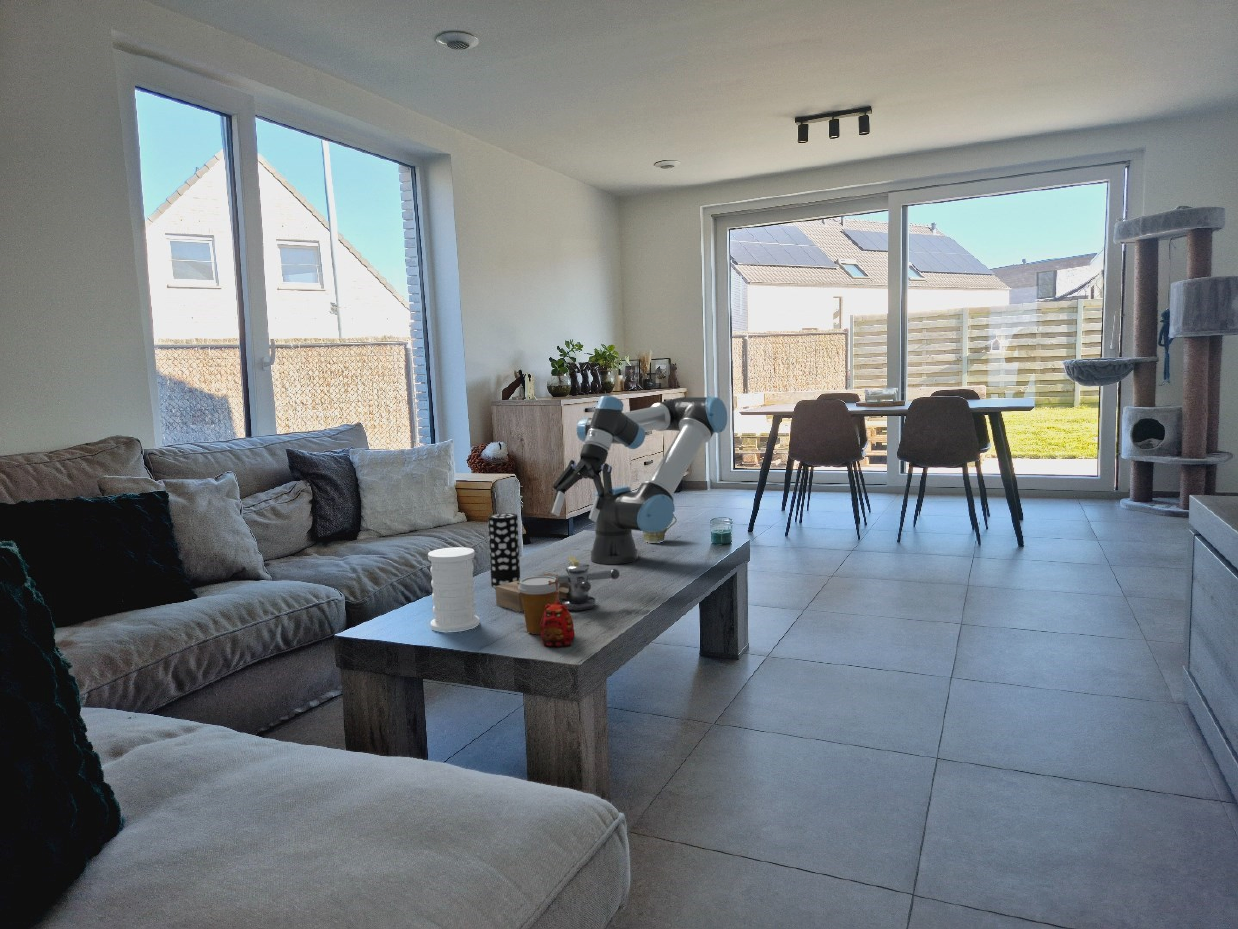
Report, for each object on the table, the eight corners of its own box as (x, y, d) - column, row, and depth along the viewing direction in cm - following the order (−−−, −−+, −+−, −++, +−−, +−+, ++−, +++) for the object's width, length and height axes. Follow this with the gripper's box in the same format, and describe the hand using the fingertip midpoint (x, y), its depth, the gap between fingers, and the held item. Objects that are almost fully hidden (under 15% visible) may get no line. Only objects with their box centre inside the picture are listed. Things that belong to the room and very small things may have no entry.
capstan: (631, 614, 197) (629, 569, 196) (543, 623, 192) (541, 577, 191) (610, 592, 218) (609, 551, 217) (530, 600, 213) (529, 558, 211)
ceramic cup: (638, 545, 280) (637, 516, 279) (642, 539, 289) (641, 511, 288) (675, 545, 277) (675, 516, 276) (678, 539, 287) (677, 511, 286)
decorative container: (469, 634, 187) (465, 557, 185) (422, 632, 189) (418, 557, 187) (486, 619, 198) (482, 547, 196) (441, 618, 200) (437, 546, 198)
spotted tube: (526, 584, 231) (523, 515, 229) (503, 590, 225) (500, 519, 223) (508, 579, 236) (504, 512, 234) (485, 585, 230) (481, 516, 228)
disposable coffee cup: (544, 639, 181) (542, 587, 180) (511, 633, 186) (509, 583, 185) (569, 628, 189) (567, 578, 188) (537, 622, 194) (534, 573, 193)
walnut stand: (550, 590, 223) (549, 570, 222) (588, 601, 211) (588, 580, 211) (496, 604, 210) (495, 583, 210) (534, 616, 199) (533, 594, 198)
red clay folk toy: (537, 648, 175) (534, 581, 174) (545, 638, 182) (542, 573, 181) (571, 649, 174) (568, 581, 172) (578, 638, 181) (576, 573, 179)
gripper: (555, 439, 235) (532, 507, 229) (624, 445, 220) (601, 518, 214) (570, 449, 241) (548, 516, 235) (638, 456, 226) (616, 527, 220)
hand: (573, 517), depth 225 cm, fingers open, 13 cm apart
